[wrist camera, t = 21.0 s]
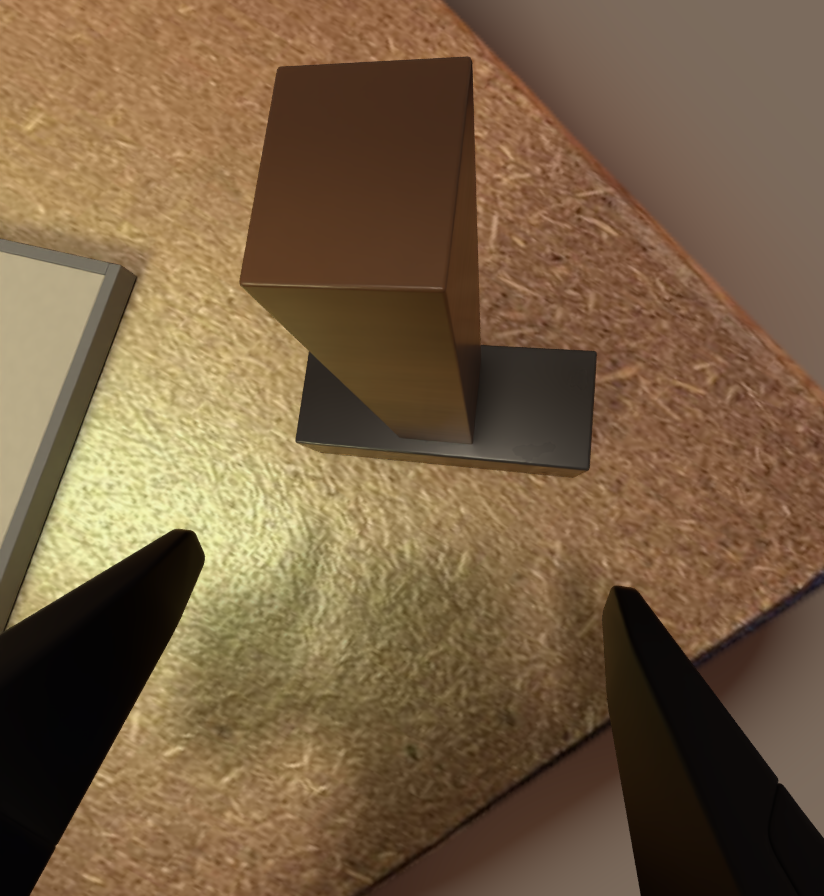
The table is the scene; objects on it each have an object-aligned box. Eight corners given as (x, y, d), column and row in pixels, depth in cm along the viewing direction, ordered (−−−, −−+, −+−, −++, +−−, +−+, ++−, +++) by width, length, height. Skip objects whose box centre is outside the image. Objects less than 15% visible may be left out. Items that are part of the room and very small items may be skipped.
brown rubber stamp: (575, 478, 17) (835, 354, 4) (318, 452, 19) (-31, 311, 6) (582, 373, 18) (832, -8, 5) (332, 358, 19) (37, 47, 7)
